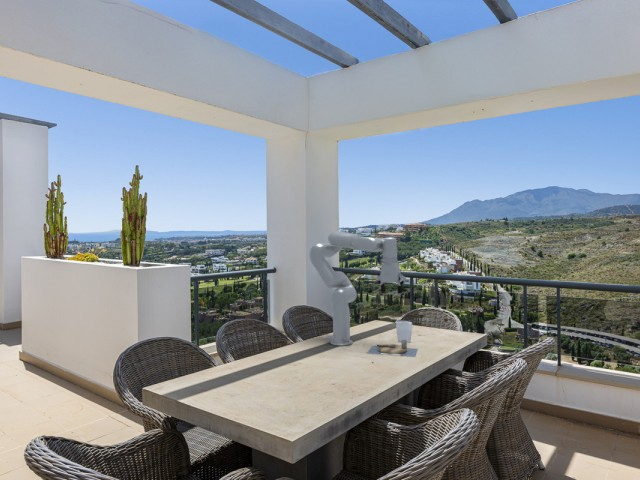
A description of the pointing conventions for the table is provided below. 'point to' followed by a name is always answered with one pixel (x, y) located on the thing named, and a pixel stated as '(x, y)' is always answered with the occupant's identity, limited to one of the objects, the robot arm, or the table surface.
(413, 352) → the blue-grey base board
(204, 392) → the table surface
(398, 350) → the crank wheel
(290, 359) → the table surface
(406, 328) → the cup
